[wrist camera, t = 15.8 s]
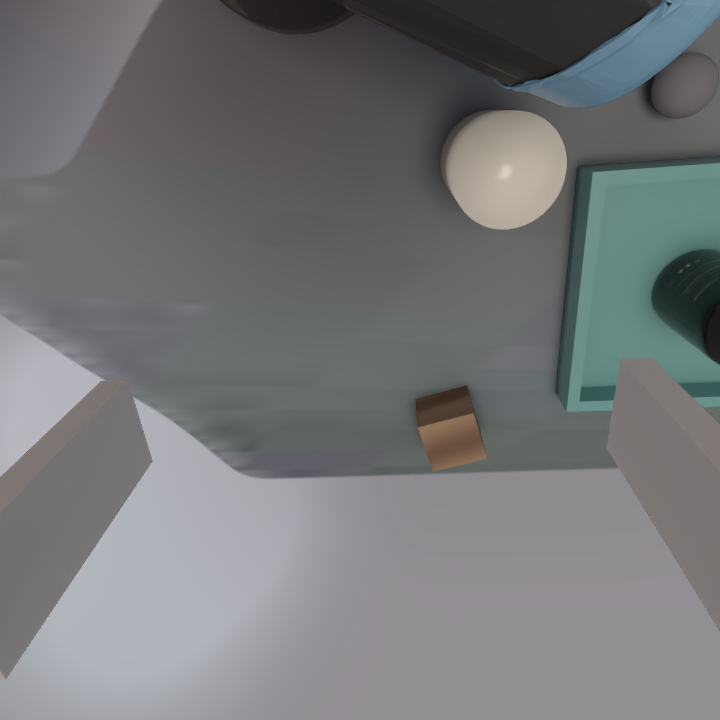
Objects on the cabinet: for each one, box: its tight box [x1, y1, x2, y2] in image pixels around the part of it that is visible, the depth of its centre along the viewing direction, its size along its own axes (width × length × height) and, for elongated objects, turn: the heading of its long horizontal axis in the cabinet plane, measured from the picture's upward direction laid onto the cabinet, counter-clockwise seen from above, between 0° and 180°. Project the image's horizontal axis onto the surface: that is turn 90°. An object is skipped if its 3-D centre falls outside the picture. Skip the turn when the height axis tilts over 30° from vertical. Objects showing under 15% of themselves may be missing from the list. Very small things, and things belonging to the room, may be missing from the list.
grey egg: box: [651, 53, 719, 118], centre depth 36 cm, size 4×4×4 cm
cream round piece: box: [440, 110, 567, 229], centre depth 37 cm, size 7×7×9 cm
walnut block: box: [416, 386, 487, 471], centre depth 49 cm, size 5×5×5 cm
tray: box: [556, 156, 720, 412], centre depth 43 cm, size 20×20×4 cm
